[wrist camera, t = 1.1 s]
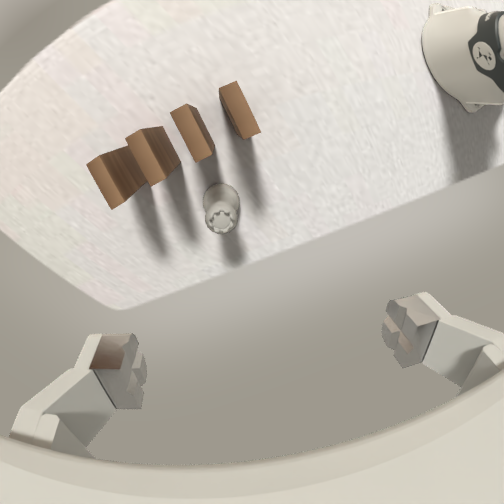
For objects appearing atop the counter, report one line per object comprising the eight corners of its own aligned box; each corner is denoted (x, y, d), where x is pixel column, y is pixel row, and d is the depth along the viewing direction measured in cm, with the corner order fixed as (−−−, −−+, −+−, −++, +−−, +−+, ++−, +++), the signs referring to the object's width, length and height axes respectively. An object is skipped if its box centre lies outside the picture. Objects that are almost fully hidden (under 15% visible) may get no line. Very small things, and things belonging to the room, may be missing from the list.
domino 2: (162, 126, 31) (140, 129, 22) (181, 161, 33) (166, 178, 24) (150, 132, 31) (125, 138, 22) (169, 168, 33) (150, 186, 24)
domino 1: (130, 144, 31) (99, 155, 22) (149, 179, 33) (124, 201, 24) (120, 151, 31) (86, 164, 22) (138, 185, 34) (111, 210, 25)
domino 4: (232, 92, 30) (236, 80, 21) (249, 129, 32) (261, 132, 23) (219, 97, 30) (218, 88, 21) (237, 134, 32) (243, 139, 23)
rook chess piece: (241, 214, 37) (247, 239, 30) (206, 219, 37) (203, 246, 29) (236, 179, 35) (240, 196, 28) (200, 185, 35) (194, 204, 27)
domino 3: (196, 108, 30) (186, 103, 21) (214, 144, 33) (212, 154, 24) (184, 114, 31) (169, 112, 22) (202, 150, 33) (195, 162, 24)
